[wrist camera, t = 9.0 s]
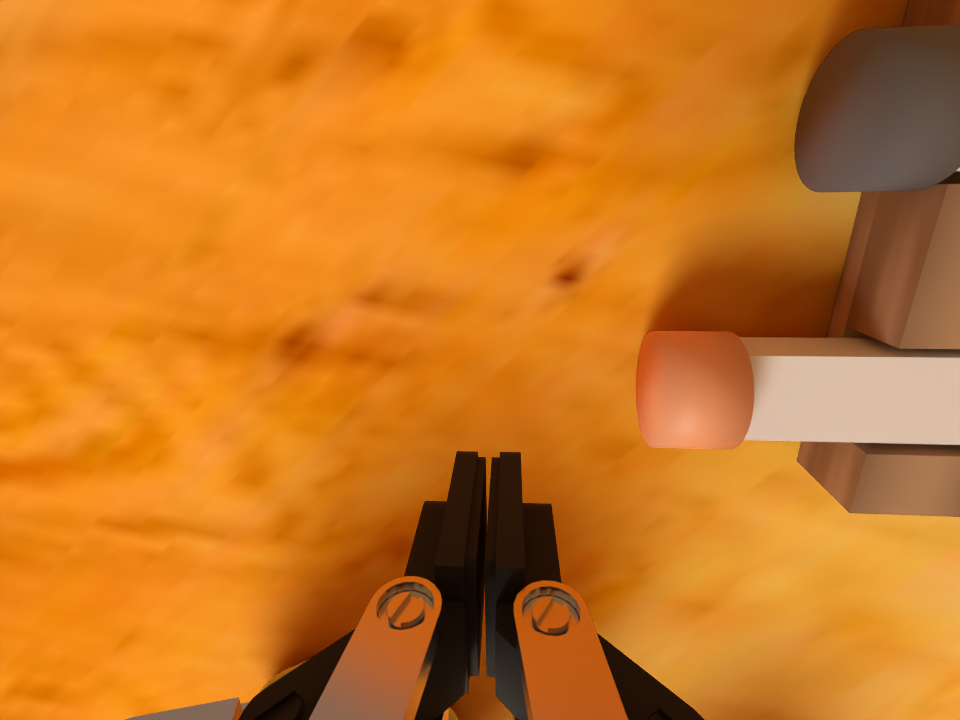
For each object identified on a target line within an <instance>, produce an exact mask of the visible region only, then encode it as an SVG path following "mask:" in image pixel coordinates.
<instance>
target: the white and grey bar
mask: <svg viewBox="0 0 960 720" xmlns="http://www.w3.org/2000/svg"><path fill="white" fill-rule="evenodd" d="M795 162H796V168H797V172H798V174H799V177H800V179H801V181H802V182H803V184H804V185H805V186H806V187H807V188H809V189H810V190H812V191H815V192H864V191H914V190H921V189H925V188H928V187H931V186H933V185H935V184H937V183H939V182H941V181H943V180H944V179H946V178H947V177H949V176H950V175H951V174H953V173H954V172H960V25H937V26H914V27H891V28H868V29H860V30H857V31H855V32H853V33H851V34H849V35H848V36H846V37H845V38H844V39H842V40H841V41H840V42H839V43H838V44H837V45H836V46H835V47H834V48H833V49H832V50H831V51H830V53H829V54H828V55H827V57H826V58H825V59H824V61H823V62H822V64H821V65H820V67H819V68H818V70H817V72H816V74H815V76H814V77H813V79H812V81H811V84H810V86H809V88H808V90H807V93H806V95H805V98H804V101H803V104H802V107H801V110H800V114H799V118H798V122H797V128H796V134H795Z"/></svg>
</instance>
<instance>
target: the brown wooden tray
mask: <svg viewBox="0 0 960 720" xmlns="http://www.w3.org/2000/svg"><path fill="white" fill-rule="evenodd" d="M937 25H960V0H909V1H908V5H907V9H906V13H905V18H904V22H903V26H902V27H914V26H937ZM827 338H875V339H877V340H880V341H882V342H884V343H887V344H889V345H891V346H894V347H896V348H898V349H960V172H954V173H953V174H951V175H950V176H949V177H947V178H946V179H944V180H943V181H941V182H939V183H937V184H935V185H933V186H931V187H928V188H925V189H921V190H914V191H864V192H862V195H861V199H860V203H859V207H858V211H857V215H856V219H855V223H854V227H853V232H852V236H851V240H850V244H849V248H848V252H847V256H846V260H845V265H844V269H843V273H842V277H841V281H840V285H839V289H838V293H837V297H836V302H835V306H834V310H833V314H832V318H831V322H830V326H829V330H828V334H827ZM797 462H798V463H799V464H800V465H801V466H802V467H803V468H804V469H806V470H807V471H808V472H809V473H810V474H811V475H812V476H813V477H814V478H815V479H816V480H817V481H818V482H819V483H820V484H821V485H822V486H823V487H824V488H825V489H826V490H827V491H828V492H829V493H830V494H831V495H832V496H833V497H834V498H835V499H836V500H837V501H838V502H839V503H840V504H841V505H842V506H843V507H844V508H845V509H846V510H847V511H848V512H849V513H863V514H892V515H921V516H951V517H960V445H941V444H898V443H854V442H810V441H802V442H801V446H800V450H799V454H798V458H797Z"/></svg>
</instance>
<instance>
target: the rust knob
mask: <svg viewBox="0 0 960 720" xmlns="http://www.w3.org/2000/svg"><path fill="white" fill-rule="evenodd" d="M636 403H637V413H638V420H639V425H640V429H641V432H642V435H643V438H644V440H645V442H646V443H647V445H648V446H650V447H652V448H690V449H734V448H736V447H737V446H739V445H740V444H741V442H742V441H743V440H767V441H810V442H854V443H898V444H941V445H960V349H898V348H896V347H894V346H891V345H889V344H887V343H884V342H882V341H880V340H877V339H875V338H798V337H738V336H737V335H736V334H735V333H733V332H730V331H650V332H648V333H647V334H646V336H645V337H644V339H643V341H642V344H641V348H640V352H639V356H638V363H637V372H636Z"/></svg>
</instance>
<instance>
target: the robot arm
mask: <svg viewBox="0 0 960 720" xmlns="http://www.w3.org/2000/svg"><path fill="white" fill-rule="evenodd" d="M484 590H485V615H486V666H487V677H496V696H497V698H498V699H499V700H500V701H501V702H502V703H503V704H504V705H505V706H506V707H507V708H508V710H509V711H510V712H511V713H512V714H513V720H704V719H703V718H702V717H701V716H700V715H699V714H698V713H697V712H696V711H695V710H694V709H693V708H692V707H690V706H689V705H688V704H687V703H685V702H684V701H683V700H682V699H680V698H679V697H678V696H676V695H675V694H674V693H673V692H671V691H670V690H669V689H668V688H666V687H665V686H664V685H662V684H661V683H660V682H659V681H657V680H656V679H655V678H654V677H652V676H651V675H650V674H648V673H647V672H646V671H645V670H643V669H642V668H641V667H640V666H638V665H637V664H636V663H634V662H633V661H632V660H631V659H629V658H628V657H627V656H626V655H624V654H623V653H622V652H620V651H619V650H618V649H617V648H615V647H614V646H613V645H612V644H610V643H609V642H608V641H606V640H605V639H604V638H603V637H601V636H600V635H599V634H598V633H597V632H596V629H595V626H594V624H593V621H592V618H591V615H590V613H589V610H588V607H587V605H586V603H585V601H584V600H583V598H582V597H581V596H580V595H579V594H578V593H577V592H576V591H575V590H574V589H572V588H571V587H569V586H567V585H565V584H563V583H561V576H560V568H559V561H558V553H557V545H556V537H555V529H554V521H553V513H552V506H551V504H535V503H522V477H521V453H520V452H500V458H493V457H492V464H491V479H490V494H489V509H488V523H487V503H486V458H485V457H478V452H463V451H457V453H456V458H455V463H454V468H453V474H452V479H451V484H450V489H449V494H448V499H447V501H425V502H424V505H423V508H422V512H421V516H420V519H419V523H418V527H417V531H416V534H415V538H414V542H413V545H412V549H411V553H410V557H409V560H408V564H407V568H406V571H405V575H404V577H400V578H396V579H394V580H392V581H390V582H387V583H386V584H384V585H383V586H382V587H381V588H379V589H378V590H377V591H376V593H375V594H374V596H373V597H372V598H371V600H370V602H369V604H368V606H367V608H366V610H365V612H364V614H363V616H362V618H361V619H360V621H359V623H358V625H357V627H356V629H355V630H353V631H352V632H350V633H348V634H347V635H345V636H344V637H342V638H341V639H339V640H338V641H336V642H335V643H333V644H332V645H330V646H329V647H327V648H326V649H324V650H323V651H321V652H319V653H318V654H316V655H315V656H313V657H312V658H310V659H309V660H307V661H306V662H304V663H303V664H301V665H300V666H298V667H297V668H295V669H294V670H292V671H290V672H289V673H287V674H286V675H284V676H283V677H281V678H280V679H278V680H277V681H275V682H274V683H272V684H271V685H269V686H268V687H266V688H265V689H264V690H262V691H261V692H260V693H259V694H257V695H256V696H255V697H254V698H253V699H252V700H251V701H250V702H247V703H242V704H240V700H239V697H238V698H233V699H228V700H222V701H217V702H211V703H206V704H201V705H195V706H190V707H185V708H179V709H174V710H168V711H163V712H158V713H152V714H147V715H142V716H136V717H132V718H129V719H126V720H448V715H449V707H450V706H451V705H453V704H454V703H455V702H456V701H457V700H458V699H459V698H461V697H462V696H463V695H464V694H468V689H469V677H470V676H479V669H480V653H481V637H482V621H483V606H484Z"/></svg>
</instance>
